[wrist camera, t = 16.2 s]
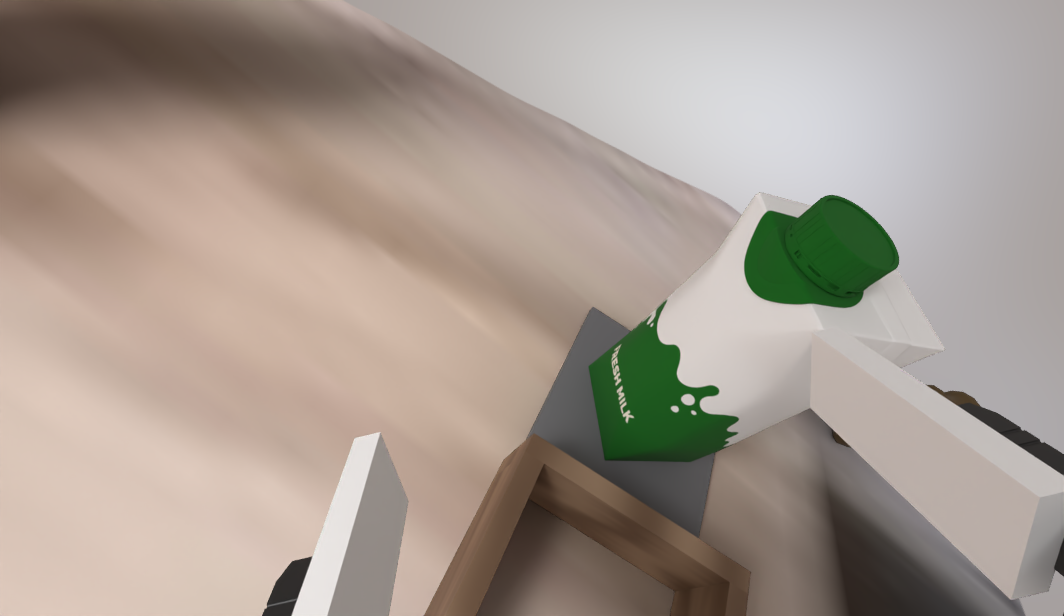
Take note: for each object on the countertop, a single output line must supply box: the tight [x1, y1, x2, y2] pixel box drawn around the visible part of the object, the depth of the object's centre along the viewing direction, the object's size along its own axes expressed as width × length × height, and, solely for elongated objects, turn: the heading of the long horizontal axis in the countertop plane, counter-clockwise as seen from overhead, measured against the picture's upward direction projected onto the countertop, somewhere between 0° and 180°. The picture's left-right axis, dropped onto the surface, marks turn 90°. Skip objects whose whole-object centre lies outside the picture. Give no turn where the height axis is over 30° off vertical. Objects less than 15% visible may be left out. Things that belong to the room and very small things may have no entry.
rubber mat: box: [526, 307, 715, 538], centre depth 37 cm, size 13×13×1 cm
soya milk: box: [588, 192, 945, 462], centre depth 29 cm, size 9×9×20 cm
